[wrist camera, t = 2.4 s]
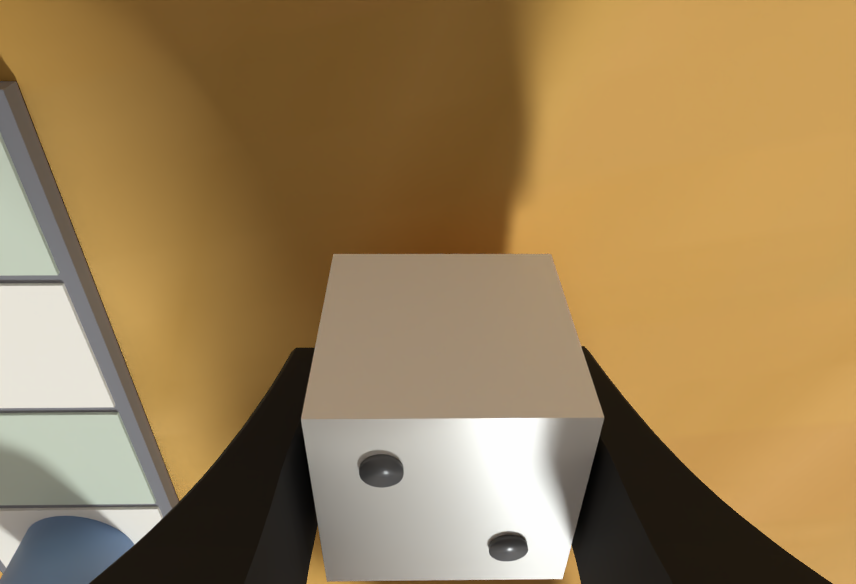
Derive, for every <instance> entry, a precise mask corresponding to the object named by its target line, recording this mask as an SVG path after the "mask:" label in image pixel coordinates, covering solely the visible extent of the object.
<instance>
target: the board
mask: <svg viewBox="0 0 856 584" xmlns="http://www.w3.org/2000/svg"><path fill="white" fill-rule="evenodd" d="M178 503H179V501H178V498H177V495H176V493H175V490H174V488H173V485H172V482H171V480H170V477H169V475H168V472H167V470H166V467H165V464H164V462H163V459H162V457H161V454H160V451H159V449H158V446H157V444H156V441H155V439H154V436H153V433H152V431H151V428H150V426H149V423H148V420H147V418H146V415H145V413H144V410H143V408H142V405H141V402H140V400H139V397H138V395H137V392H136V389H135V387H134V384H133V382H132V379H131V377H130V374H129V371H128V369H127V366H126V364H125V361H124V358H123V356H122V353H121V351H120V348H119V346H118V343H117V340H116V338H115V335H114V333H113V330H112V328H111V325H110V322H109V320H108V317H107V315H106V312H105V309H104V307H103V304H102V302H101V299H100V297H99V294H98V291H97V289H96V286H95V284H94V281H93V278H92V276H91V273H90V271H89V268H88V266H87V263H86V260H85V258H84V255H83V253H82V250H81V247H80V245H79V242H78V240H77V237H76V235H75V232H74V229H73V227H72V224H71V222H70V219H69V216H68V214H67V211H66V209H65V206H64V204H63V201H62V198H61V196H60V193H59V191H58V188H57V185H56V183H55V180H54V178H53V175H52V173H51V170H50V167H49V165H48V162H47V160H46V157H45V154H44V152H43V149H42V147H41V144H40V142H39V139H38V136H37V134H36V131H35V129H34V126H33V124H32V121H31V118H30V116H29V113H28V111H27V108H26V105H25V103H24V100H23V98H22V95H21V93H20V90H19V87H18V85H17V82H16V81H0V571H1V572H2V573H4V572H5V570H6V568H7V566H8V564H9V563H10V561H11V559H12V557H13V555H14V554H15V552H16V550H17V548H18V546H19V544H20V543H21V541H22V539H23V537H24V535H25V534H26V532H27V530H28V528H29V527H30V526H31V525H32V524H34V523H35V522H37V521H39V520H42V519H44V518H49V517H55V516H77V517H84V518H89V519H93V520H97V521H100V522H103V523H106V524H108V525H110V526H112V527H114V528H116V529H118V530H120V531H121V532H123V533H124V534H125V535H126V536H128V537H129V538H130V539H131V541H132V542H133V543H134V545H135V544H136V543H137V542H138V541H139V540H140V539H141V538H142V537H144V536H145V535H146V534H147V533H148V532H149V531H150V530H151V529H152V528H153V527H154V526H155V525H156V524H157V523H158V522H159V521H160V520H161V519H162V518H163V517H164V516H165V515H166V514H167V513H168V512H169V511H170V510H171V509H172V508H173V507H174V506H175V505H177V504H178Z"/></svg>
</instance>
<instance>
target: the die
mask: <svg viewBox="0 0 856 584" xmlns="http://www.w3.org/2000/svg"><path fill="white" fill-rule="evenodd" d="M603 421H604V415H603V412H602V409H601V406H600V403H599V399H598V396H597V393H596V390H595V387H594V384H593V381H592V378H591V375H590V372H589V369H588V366H587V363H586V360H585V357H584V353H583V350H582V347H581V344H580V341H579V338H578V335H577V332H576V329H575V326H574V323H573V320H572V317H571V314H570V311H569V307H568V304H567V301H566V298H565V295H564V292H563V289H562V286H561V283H560V280H559V277H558V274H557V271H556V268H555V265H554V261H553V258H552V255H551V254H333V259H332V264H331V269H330V274H329V279H328V284H327V289H326V294H325V299H324V304H323V309H322V314H321V320H320V325H319V330H318V335H317V340H316V345H315V350H314V355H313V360H312V365H311V370H310V375H309V381H308V386H307V391H306V396H305V401H304V406H303V411H302V416H301V423H302V429H303V435H304V442H305V448H306V454H307V460H308V466H309V473H310V479H311V485H312V491H313V497H314V504H315V510H316V516H317V522H318V528H319V535H320V541H321V547H322V553H323V559H324V566H325V572H326V578H327V581H414V580H510V579H563V575H564V571H565V567H566V564H567V560H568V556H569V552H570V548H571V544H572V541H573V537H574V533H575V529H576V525H577V521H578V517H579V514H580V510H581V506H582V502H583V498H584V494H585V491H586V487H587V483H588V479H589V475H590V471H591V467H592V464H593V460H594V456H595V452H596V448H597V444H598V440H599V437H600V433H601V429H602V425H603Z"/></svg>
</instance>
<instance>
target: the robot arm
mask: <svg viewBox="0 0 856 584" xmlns="http://www.w3.org/2000/svg"><path fill="white" fill-rule="evenodd" d="M581 347H582V350H583V353H584V357H585V360H586V363H587V366H588V369H589V372H590V375H591V378H592V381H593V384H594V387H595V390H596V393H597V396H598V399H599V403H600V406H601V409H602V412H603V415H604V421H603V425H602V429H601V433H600V437H599V440H598V444H597V448H596V452H595V456H594V460H593V464H592V467H591V471H590V475H589V479H588V483H587V487H586V491H585V494H584V498H583V502H582V506H581V510H580V514H579V517H578V521H577V525H576V529H575V533H574V537H573V541H572V547H573V551H574V555H575V558H576V562H577V567H578V571H579V576H580V580H581V584H832V583H831V582H829V581H828V580H826V579H825V578H824V577H822V576H821V575H819V574H818V573H816V572H815V571H814V570H812V569H811V568H809V567H808V566H806V565H805V564H803V563H802V562H801V561H799V560H798V559H796V558H795V557H793V556H792V555H791V554H789V553H788V552H787V551H785V550H784V549H783V548H781V547H780V546H779V545H777V544H776V543H775V542H773V541H772V540H771V539H770V538H768V537H767V536H766V535H764V534H763V533H762V532H761V531H759V530H758V529H757V528H756V527H754V526H753V525H752V524H750V523H749V522H748V521H747V520H745V519H744V518H743V517H742V516H740V515H739V514H738V513H737V512H735V511H734V510H733V509H732V508H731V507H730V506H728V505H727V504H726V503H725V502H724V501H723V500H721V499H720V498H719V497H718V496H717V495H716V494H715V493H714V492H713V491H711V490H710V489H709V488H708V487H707V486H706V485H705V484H704V483H703V482H702V481H701V480H700V479H698V478H697V477H696V476H695V475H694V474H693V473H692V472H691V471H690V470H689V469H688V468H687V467H686V466H685V465H684V464H683V463H682V462H681V461H680V460H679V459H678V458H677V457H676V456H675V454H674V453H673V452H672V451H671V450H670V449H669V448H668V447H667V446H666V445H665V444H664V443H663V442H662V441H661V440H660V439H659V437H658V436H657V435H656V434H655V433H654V432H653V431H652V430H651V429H650V427H649V426H648V425H647V424H646V423H645V422H644V420H643V419H642V418H641V417H640V416H639V414H638V413H637V412H636V411H635V410H634V409H633V407H632V406H631V405H630V404H629V403H628V401H627V400H626V399H625V398H624V397H623V395H622V394H621V393H620V391H619V390H618V389H617V388H616V386H615V385H614V384H613V383H612V381H611V380H610V379H609V377H608V376H607V375H606V373H605V372H604V371H603V370H602V368H601V367H600V366H599V364H598V363H597V362H596V360H595V359H594V357H593V356H592V355H591V353H590V352H589V351H588V350H587V349H586V348H585V347H584V346H581ZM314 350H315V348H296V349H294V350H293V351H292V352H291V354H290V356H289V357H288V359H287V361H286V363H285V364H284V366H283V368H282V369H281V371H280V373H279V374H278V376H277V378H276V379H275V381H274V382H273V384H272V385H271V387H270V389H269V390H268V392H267V393H266V395H265V396H264V398H263V399H262V401H261V402H260V403H259V405H258V406H257V408H256V409H255V411H254V412H253V413H252V415H251V416H250V418H249V419H248V420H247V422H246V423H245V425H244V426H243V427H242V429H241V430H240V431H239V433H238V434H237V435H236V436H235V438H234V439H233V440H232V441H231V443H230V444H229V445H228V447H227V448H226V449H225V450H224V452H223V453H222V454H221V455H220V457H219V458H218V459H217V460H216V462H215V463H214V464H213V465H212V466H211V467H210V469H209V470H208V471H207V472H206V473H205V474H204V476H203V477H202V478H201V479H200V480H199V481H198V482H197V483H196V484H195V485H194V487H193V488H192V489H191V490H190V491H189V492H188V493H187V494H186V495H185V496H184V497H183V498H182V499H181V500H180V501H179V503H178V504H177V505H175V506H174V507H173V508H172V509H171V510H170V511H169V512H168V513H167V514H166V515H165V516H164V517H163V518H162V519H161V520H160V521H159V522H158V523H157V524H156V525H155V526H154V527H153V528H152V529H151V530H150V531H149V532H148V533H147V534H146V535H145V536H144V537H142V538H141V539H140V540H139V541H138V542H137V543H136V544H135V545H134V546H133V547H131V548H130V549H129V550H128V551H127V552H125V553H124V554H123V555H122V556H121V557H120V558H118V559H117V560H116V561H115V562H114V563H112V564H111V565H110V566H109V567H108V568H107V569H105V570H104V571H103V572H102V573H101V574H100V575H98V576H97V577H96V578H95V579H94V580H92V581H91V582H90V583H89V584H306V583H307V576H308V570H309V564H310V559H311V554H312V550H313V545H314V540H315V535H316V530H317V525H318V522H317V516H316V510H315V504H314V497H313V491H312V485H311V479H310V473H309V466H308V460H307V454H306V448H305V442H304V435H303V429H302V423H301V416H302V411H303V406H304V401H305V396H306V391H307V386H308V381H309V375H310V370H311V365H312V360H313V355H314Z"/></svg>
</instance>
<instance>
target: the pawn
mask: <svg viewBox="0 0 856 584" xmlns="http://www.w3.org/2000/svg"><path fill="white" fill-rule="evenodd" d="M133 546H134V543H133V542H132V541H131V539H130V538H129V537H128V536H126V535H125V534H124V533H123V532H121V531H120V530H118V529H116V528H114V527H112V526H110V525H108V524H106V523H103V522H100V521H97V520H93V519H89V518H84V517H77V516H55V517H49V518H44V519H42V520H39V521H37V522H35V523H34V524H32V525H31V526H30V527H29V528H28V530H27V532H26V534H25V535H24V537H23V539H22V541H21V543H20V544H19V546H18V548H17V550H16V552H15V554H14V555H13V557H12V559H11V561H10V563H9V564H8V566H7V568H6V570H5V572H4V573H3V575H2V577H1V579H0V584H89V583H90V582H91V581H92V580H94V579H95V578H96V577H97V576H98V575H100V574H101V573H102V572H103V571H104V570H105V569H107V568H108V567H109V566H110V565H111V564H112V563H114V562H115V561H116V560H117V559H118V558H120V557H121V556H122V555H123V554H124V553H125V552H127V551H128V550H129V549H130V548H131V547H133Z"/></svg>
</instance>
